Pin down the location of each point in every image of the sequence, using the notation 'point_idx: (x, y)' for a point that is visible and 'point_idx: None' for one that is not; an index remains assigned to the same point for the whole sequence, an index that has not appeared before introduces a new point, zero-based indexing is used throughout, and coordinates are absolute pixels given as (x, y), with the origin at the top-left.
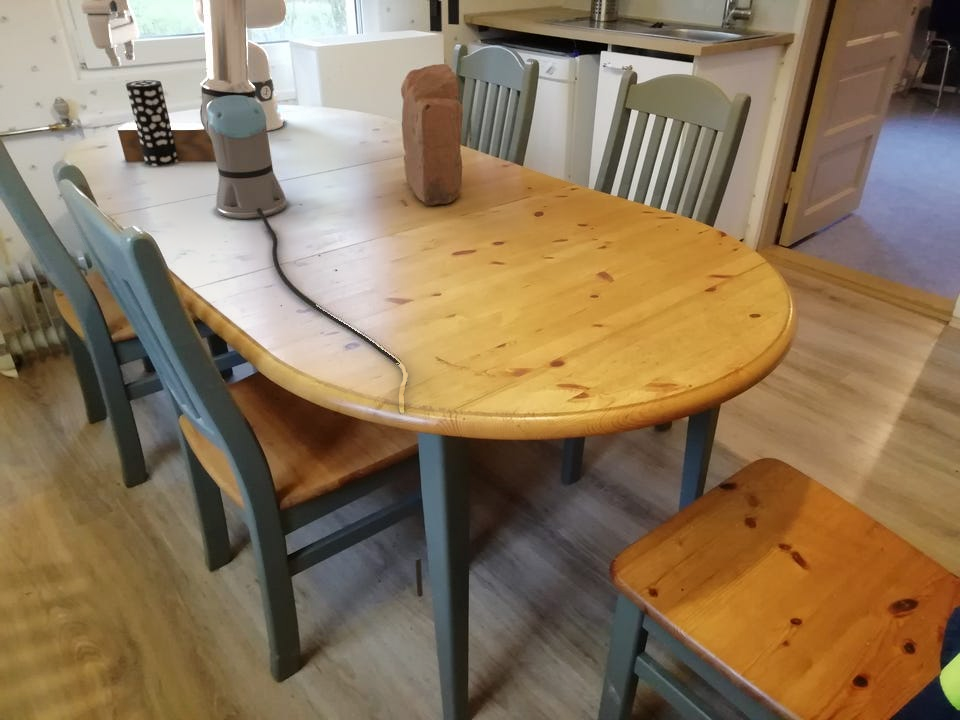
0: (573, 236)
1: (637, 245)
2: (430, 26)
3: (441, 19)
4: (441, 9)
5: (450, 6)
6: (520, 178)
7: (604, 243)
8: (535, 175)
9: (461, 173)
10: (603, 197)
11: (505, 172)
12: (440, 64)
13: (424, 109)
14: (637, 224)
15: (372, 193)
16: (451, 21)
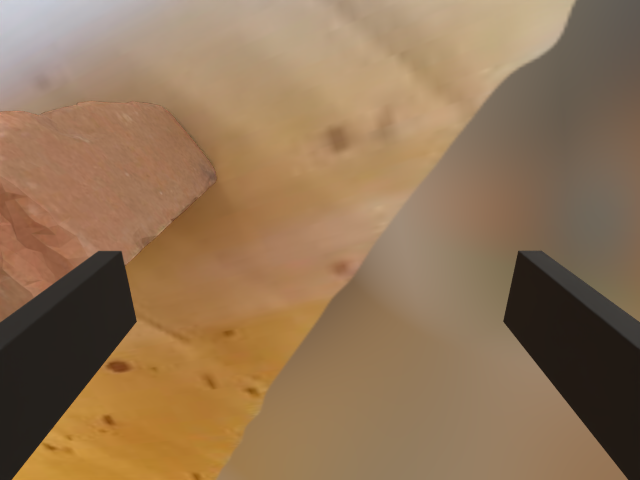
0: (64, 416)
1: (79, 475)
2: (81, 266)
3: (90, 372)
4: (46, 434)
5: (599, 347)
6: (275, 309)
7: (63, 447)
8: (302, 328)
9: None
10: (232, 429)
11: (301, 277)
12: (25, 299)
13: (122, 170)
14: (147, 471)
15: (54, 55)
16: (523, 285)
